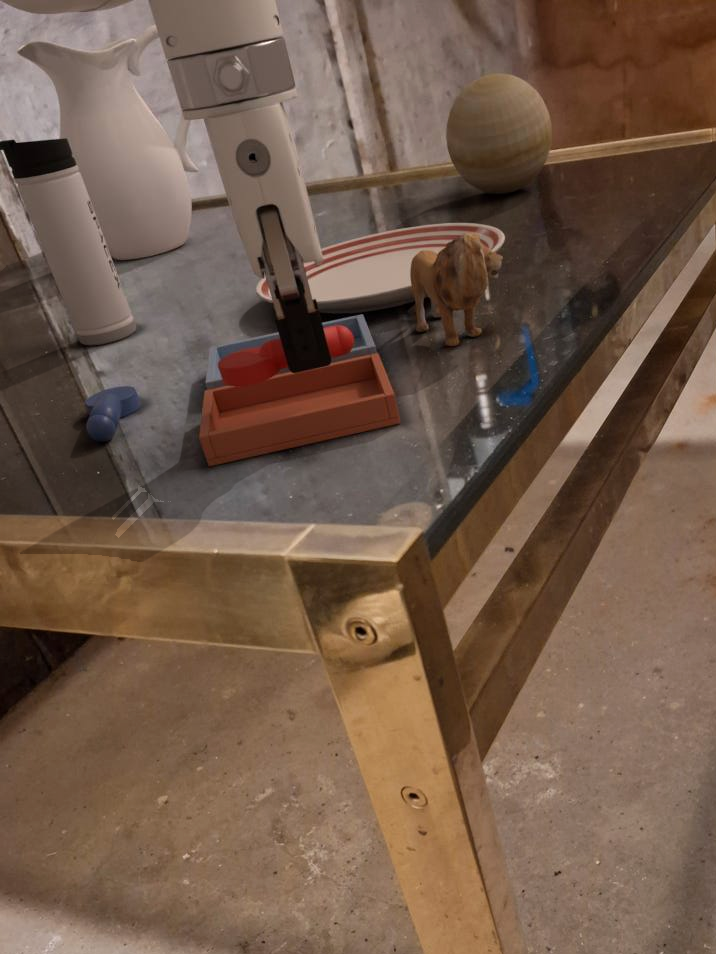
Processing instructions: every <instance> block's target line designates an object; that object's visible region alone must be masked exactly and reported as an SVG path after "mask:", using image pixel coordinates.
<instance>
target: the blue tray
mask: <svg viewBox="0 0 716 954" xmlns="http://www.w3.org/2000/svg"><path fill="white" fill-rule="evenodd" d="M322 325H323V328H326V327H331V326H335V325H342V326H345V327H347V328H348V329H349V330H350V331H351V333H352V334H353V337H354V345H353V348H352V350H351V351H350V352H349V353H348V354H346V355H343V356H339V357H334V358H331V363H334V362H338V361H343V360H347V359H352V358H357V357H361V356H366V355H371V354H375V353H378V352H377V351H378V350H377V346H376V344H375V342H374V339H373V336H372V334H371V331H370V329H369V327H368V324H367V321H366V319H365V315H364V314H358V315H357V314H356V315H353V316H348V317H343V318H338V319H334V320H329V321H325V322H322ZM277 338H280V336H279V332H278V331H277V332H272V333H268V334H264V335H259V336H254V337H250V338H244V339H240V340H236V341H232V342H226V343H222V344H217V345H213V346H210V347H208V348H209V349H208V357H207V366H206V375H205V382H204V383H205V387H206V390H210V389H215V388H219V387H224V386H228V385H226V384H224V383H223V380H222V377H221V374H220V371H219V368H218V362H219V361H220V360H221V359H222V358H224V357H225V356H227V355H229V354H232V353H234V352H237V351H240V350H244V349H248V348H254V347H261V346H262V344H263V343H265V342H266V341H269V340H272V339H277ZM288 372H290V370H289V368H285V369H281V370H280V371H279V372H278V373H277V374H276V375H279V374H283V373H288Z"/></svg>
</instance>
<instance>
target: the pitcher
mask: <svg viewBox="0 0 716 954" xmlns="http://www.w3.org/2000/svg"><path fill="white" fill-rule="evenodd" d="M157 39H160V38H159V34H158V31H157V28H156V24H155V23H154V24H153V25H150V26H148V27H147V28H146V29H144V30H143V31H142V32H141V33H139V35H138V36H137V37H136V38H133V37H131V38H122V39H121V38H120V39H118V40H115V41H112V42H109V43H108V44H106V45H104V46H102V47H100V48H98V49H96V50H94V51H93V50H84V49H78V48H74V47H70V46H66V45H63V44H59V43H55V42H52V41H48V40H47V41H46V40H35V41H30V42H28V43H26V44H23V45H21V46H20V47H18V49H17V50H16V54H18V55H19V56H20V57H23V58H24V59H26V60H28V61H29V62H31V63H33V64H34V65H36V66H37V67H38V68H40V69H41V70H42V71H43V72H44V73H45V74H46V75H47V76H48V78H49V79H50V81H52V84H53V86H54V89H55V91H56V94H57V99H58V103H59V105H58V106H59V120H60V121H59V125H60V126H59V128H60V129H59V131H60V132H59V133H60V135H59V137H60V138H59V139H64V138H67V140H68V143H69V145H70V148H71V151H72V157H73V158H74V159H75V162H76V164H77V165H78V168H79V170H78V172H79V173H80V174H81V176H82V179H83V182H84V184H85V187H86V190H87V193H88V195H89V198H90V201H91V204H92V206H93V209H94V212H95V215H96V217H97V220H98V223H99V225H100V228H101V231H102V234H103V236H104V239H105V242H106V245H107V247H108V250H109V253H110V255H111V258H112V259H115V260H118V261H129V260H138V259H143V258H148V257H154V256H157V255H160V254H163V253H168V252H170V251H173V250H175V249H178V248H179V247H181V246H183V245H184V244H185V243H186V242H187V240H188V237H189V233H190V228H191V222H192V209H193V207H192V194H191V188H190V185H189V181H188V180H189V179H188V177H187V174H186V172H187V173H198V172H199V169H198V167H197V166H196V165H195V164H194V163H193V161H192V160H191V159H190V157H189V156H190V155H189V154H188V151H187V137H188V132H189V128H190V124H191V121H192V120H184V117H183V113H182V112H181V116H180V119H179V121H178V126H177V130H176V133H175V137H174V141H173V142H172V140H171V138H170V137H169V135H168V134H167V132H166V130H165V129H164V128H163V126H162V125H161V123H160V121H159V120H158V119H157V118H156V116H155V115H154V113H153V112H152V110H151V108H149V106H148V105H147V104H146V102H145V101H144V99H143V97H142V96H141V95H140V93H139V92H138V91H137V89H136V87H135V85H134V83H133V80H132V78H131V76H130V73H131V74H132V75H133V76H135V77H140V76H141V68H140V64H139V63H140V57H141V55H142V54H143V52H144V50H145V49H146V48H147V47H148V46H149V44H151V43H152V42H153V41H154V40H157ZM129 72H130V73H129ZM173 143H174V144H173Z"/></svg>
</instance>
